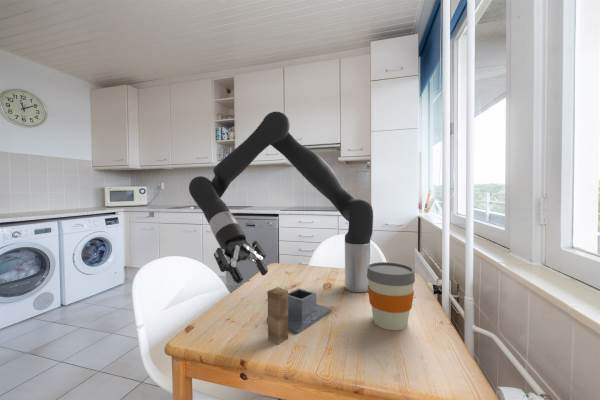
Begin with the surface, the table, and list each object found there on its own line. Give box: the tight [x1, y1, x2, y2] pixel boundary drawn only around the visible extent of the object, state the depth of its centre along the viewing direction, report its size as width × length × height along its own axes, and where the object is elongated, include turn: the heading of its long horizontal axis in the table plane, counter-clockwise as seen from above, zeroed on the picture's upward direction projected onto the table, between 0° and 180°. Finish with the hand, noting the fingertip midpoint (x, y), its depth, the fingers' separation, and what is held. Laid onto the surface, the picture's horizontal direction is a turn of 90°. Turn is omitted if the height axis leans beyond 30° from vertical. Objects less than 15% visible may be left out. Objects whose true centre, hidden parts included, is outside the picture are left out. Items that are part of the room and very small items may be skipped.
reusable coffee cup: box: [367, 261, 416, 331], centre depth 73 cm, size 12×13×15 cm
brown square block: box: [267, 286, 289, 345], centre depth 65 cm, size 4×4×12 cm
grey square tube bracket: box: [266, 288, 333, 335], centre depth 77 cm, size 16×11×6 cm
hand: (253, 277), depth 71 cm, fingers open, 8 cm apart
